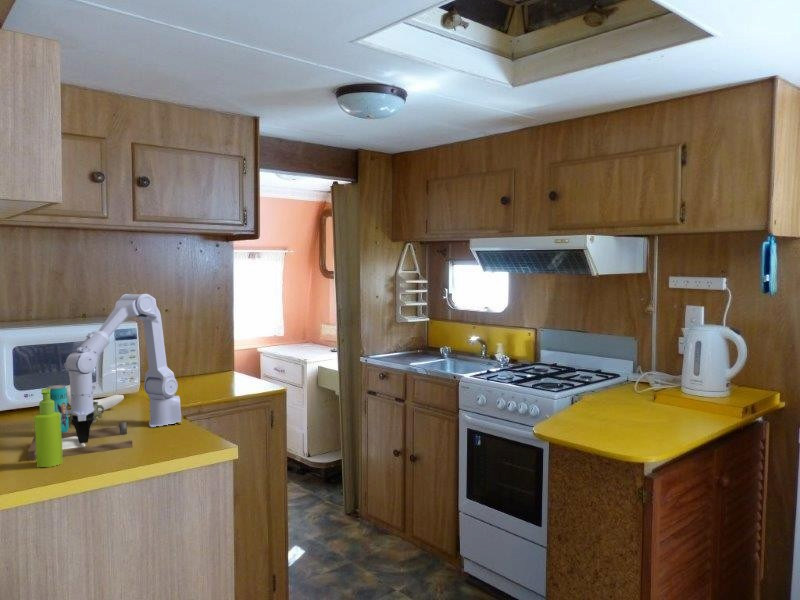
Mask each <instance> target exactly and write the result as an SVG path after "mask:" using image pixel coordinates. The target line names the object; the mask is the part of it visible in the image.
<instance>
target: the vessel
mask: <svg viewBox="0 0 800 600" xmlns="http://www.w3.org/2000/svg"><path fill="white" fill-rule="evenodd" d="M97 404H98V402H94V401H93V407H94V411H93V413H94V416H93V418H94V420H93V422H92V424H94V423H96V422H98V419H102V418H103V414H104V413H105V410H104V407H103V406H102V405H97ZM98 408H102V411H98ZM68 410H71V405H70V404H69V407H68ZM72 416H73V414H69V416H68V421H69V423H70V422H71V419H73V418H72ZM97 417H98V419H97ZM71 423H72V422H71Z"/></svg>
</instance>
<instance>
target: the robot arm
mask: <svg viewBox="0 0 800 600" xmlns="http://www.w3.org/2000/svg"><path fill="white" fill-rule="evenodd" d="M114 305H115V306H114V309H112V312H110V313H109V315H108V317H107V318H106V319H105V321H104V323H103V324H101V326H100V328H99V329H98V330H95V331H92V332H91V333H88V334H87V335H86V336H85V337H86V339H85V340H84V341H83V342H82V343H81V345H80V346H78V347H77V348H76V351H74V352H72V353H69V355H68V356H67V357H66V360H65V362H64V363H63V366H64V368H65V369H66V371H67V372H68V377H69V385H70V394H71V407H70V408H71V410H67V414H68V415H70V414H73V416H72V418H73V419H71V424H72V425H73V427H74V429H75V431H76V432H77V436H78V440H79V443H84V444H87V443H88V442H89V440H90V439H89V432H90V429H91V426H92V424H93V423H92V422H93V420H94V418H93V416H94V413H93V411H94V407H93V400H94V390H93V387H94V386H93V371H94V370H95V369H96V367H97V361H98V358H99V357H100V355H101V354H102V353H103V351H104V350H105V349H106V347H108V345H109V344H110V338H109V337H111V335H112V334H114V332H115V331H116V330H117V329H118V328H119V327H120V325H121V324H123V322H124V321H125V320H127V319H129V318H130V319H131V318H133V317H136V318H137V319H138V320H140V321H141V322H142V324H143V332H144V340H145V346H146V356H147V364H148V370H147V371H146V372H145V373H144V383H143V390H144V392H145V393H146V394H147V397H148V398H149V399H148V400H149V417H150V420H149V421H148V426H149V427H150V428H156V426H159V427H164V426H163V425H167V426H169V425H168V424H174V423H176V422H181V423H182V412H181V410H182V409H181V398H180V395H176V393H177V391H178V387H179V385H178V380H177V379H176V377H175V373H174V371H172V370H171V369H170V368H169V367H168V364H167V363H168V362H167V356H166V347H165V339H164V331H163V323H162V315H161V311H160V309H159V308H158V306H157V300H156V298H155V297H153V296H152V295H151V294H149V293H142V294H141V293H140V294H139V293H138V294H137V293H136V294H135V293H125V294H122V295H121V296H120V297H119V300H117V301H116V302H115V304H114Z"/></svg>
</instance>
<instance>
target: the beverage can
mask: <svg viewBox="0 0 800 600" xmlns="http://www.w3.org/2000/svg"><path fill="white" fill-rule="evenodd" d="M46 388H51V390H50V399H52V400H54V404H55V412H59V413H60V414H61V433H62V432H69V429H70V426H69V425H70V424H69V423H70V422H69V421H68V417H69V414H67V410H68V408H69V403H68V400H67V389H66V388H67V386H66V385H64V384H56V385H49V386H47V387H46Z"/></svg>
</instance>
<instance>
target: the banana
mask: <svg viewBox="0 0 800 600" xmlns="http://www.w3.org/2000/svg"><path fill="white" fill-rule="evenodd" d="M66 389H67V400H68V405H69V406H70V405H71V394H70V384H68V385H67V386H66ZM124 399H125V397H124V395H123V394H114V395H110V396H108V397H104V398H101V399H100V398H99V399H93V401H94V402H98V404H97V405H102V406H103V407H104V411H106V410H108V409H110V408H112V407H115V406H116V405H118V404H120V403H121V402H122V401H123V400H124ZM98 411H99V412H102V408H98Z"/></svg>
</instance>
